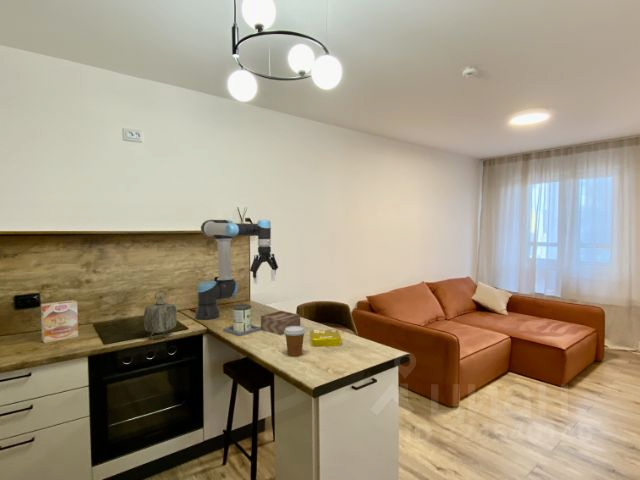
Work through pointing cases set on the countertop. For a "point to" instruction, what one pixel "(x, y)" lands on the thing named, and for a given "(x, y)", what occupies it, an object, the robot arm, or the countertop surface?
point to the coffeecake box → (59, 321)
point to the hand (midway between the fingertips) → (264, 282)
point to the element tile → (325, 338)
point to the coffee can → (241, 318)
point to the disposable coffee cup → (294, 340)
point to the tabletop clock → (160, 316)
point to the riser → (279, 321)
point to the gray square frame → (229, 330)
